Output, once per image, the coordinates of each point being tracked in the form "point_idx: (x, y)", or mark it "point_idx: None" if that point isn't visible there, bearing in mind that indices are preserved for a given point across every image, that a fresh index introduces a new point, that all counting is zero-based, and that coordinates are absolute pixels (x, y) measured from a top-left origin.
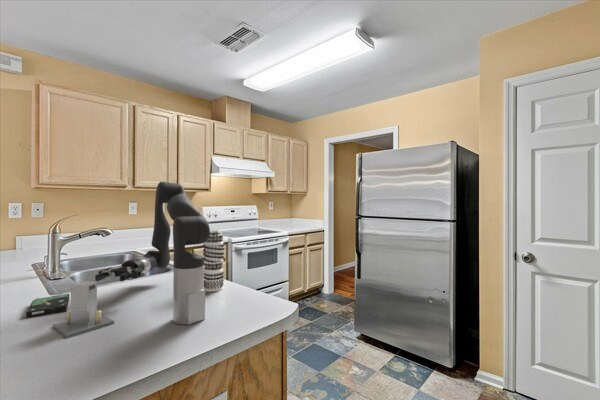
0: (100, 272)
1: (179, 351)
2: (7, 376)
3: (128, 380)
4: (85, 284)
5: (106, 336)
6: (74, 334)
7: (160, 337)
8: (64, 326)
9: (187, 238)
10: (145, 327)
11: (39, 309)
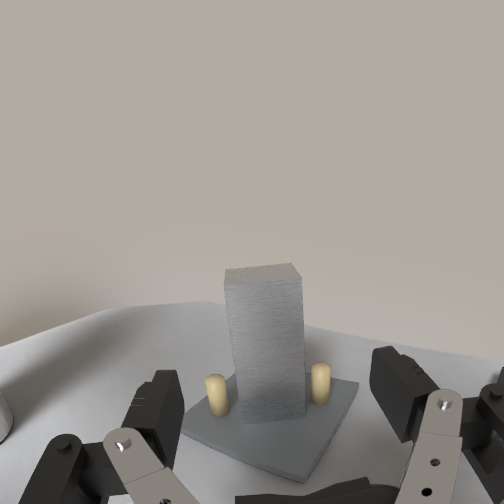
0: (477, 399)
1: (29, 346)
2: None
3: (88, 317)
4: (242, 270)
5: None
6: None
7: (47, 374)
8: (306, 382)
9: None
10: (76, 408)
11: (501, 384)
